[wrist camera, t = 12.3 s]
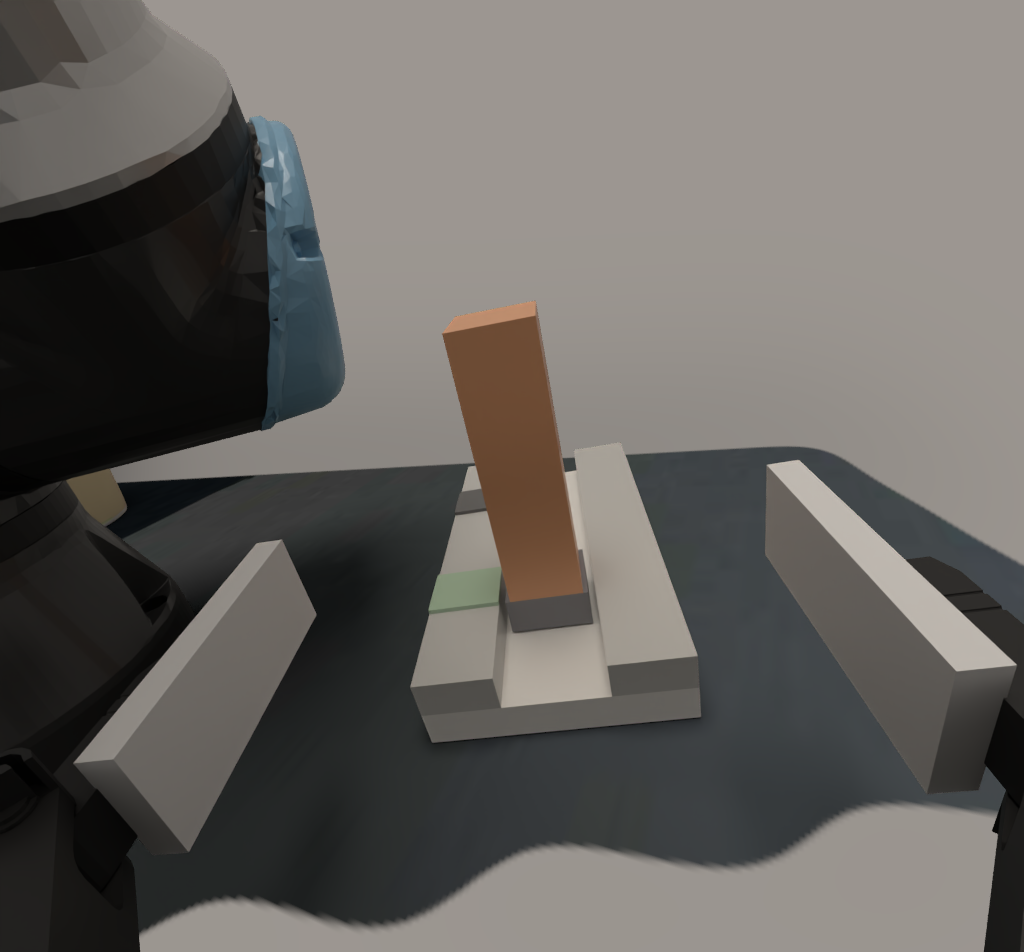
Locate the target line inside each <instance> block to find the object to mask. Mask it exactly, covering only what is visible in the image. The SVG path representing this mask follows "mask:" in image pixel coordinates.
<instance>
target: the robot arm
mask: <svg viewBox="0 0 1024 952" xmlns="http://www.w3.org/2000/svg"><path fill="white" fill-rule="evenodd" d="M319 243H320V240H319V237H318V232H317V228H316V224H315V221H314V213H313V208H312V203H311V199H310V195H309V191H308V187H307V182H306V179H305V175H304V170H303V167H302V164H301V159H300V156H299V152H298V149H297V145H296V143H295V140H294V137H293V134H292V133H291V131H290V129H289V128H288V127H287V126H286V125H284V124H283V123H281V122H279V121H267V120H266V119H265V118H263V117H261V116H258V117H252V118H250V119H249V122H248V123H246V122H245V119H244V117H243V114H242V112H241V109H240V107H239V104H238V102H237V99H236V96H235V94H234V91H233V89H232V86H231V84H230V81H229V79H228V77H227V74H226V72H225V70H224V68H223V67H222V66H221V64H220V63H219V62H218V60H217V59H216V58H215V57H213V56H212V55H211V54H209V53H208V52H207V51H205V50H204V49H202V48H201V47H199V46H198V45H196V44H195V43H193V42H192V41H190V40H189V39H187V38H186V37H185V36H183V35H181V34H180V33H179V32H177V31H176V30H174V29H173V28H171V27H170V26H168V25H167V24H165V23H164V22H162V21H161V20H159V19H158V18H156V17H155V16H153V15H152V14H151V13H150V11H149V10H148V8H147V7H146V6H145V4H144V3H143V2H142V0H0V952H140V943H139V930H138V916H137V903H136V890H135V876H134V867H133V865H132V863H131V860H130V859H129V858H128V857H127V856H126V854H127V852H128V851H129V849H130V847H131V846H132V844H133V843H134V841H135V840H136V838H138V839H139V840H140V841H141V842H142V843H143V845H144V846H145V847H146V848H147V849H148V850H149V851H150V853H151V854H152V855H162V854H174V853H187V852H189V851H190V849H191V847H192V845H193V844H194V842H195V840H196V838H197V836H198V834H199V832H200V831H201V829H202V827H203V825H204V823H205V821H206V819H207V818H208V816H209V814H210V812H211V810H212V808H213V806H214V805H215V803H216V801H217V799H218V797H219V795H220V793H221V792H222V790H223V788H224V786H225V784H226V782H227V780H228V779H229V777H230V775H231V773H232V771H233V769H234V767H235V766H236V764H237V762H238V760H239V758H240V756H241V754H242V753H243V751H244V749H245V747H246V745H247V743H248V741H249V740H250V738H251V736H252V734H253V732H254V730H255V728H256V727H257V725H258V723H259V721H260V719H261V717H262V715H263V713H264V712H265V710H266V708H267V706H268V704H269V702H270V700H271V699H272V697H273V695H274V693H275V691H276V689H277V687H278V686H279V684H280V682H281V680H282V678H283V676H284V674H285V673H286V671H287V669H288V667H289V665H290V663H291V661H292V660H293V658H294V656H295V654H296V652H297V650H298V648H299V647H300V645H301V643H302V641H303V639H304V637H305V635H306V634H307V632H308V630H309V628H310V626H311V624H312V622H313V621H314V619H315V617H316V615H317V614H316V612H315V610H314V608H313V606H312V603H311V601H310V599H309V597H308V595H307V593H306V590H305V588H304V586H303V584H302V582H301V580H300V578H299V575H298V573H297V571H296V569H295V567H294V565H293V563H292V560H291V558H290V556H289V554H288V552H287V550H286V547H285V545H284V543H283V541H282V540H276V541H269V542H263V543H257V544H256V545H255V546H254V547H253V548H252V550H251V551H250V552H249V553H248V554H247V556H246V557H245V558H244V559H243V560H242V562H241V563H240V564H239V565H238V566H237V568H236V569H235V570H234V571H233V572H232V574H231V575H230V576H229V577H228V578H227V580H226V581H225V582H224V583H223V584H222V586H221V587H220V588H219V589H218V590H217V592H216V593H215V594H214V595H213V596H212V598H211V599H210V600H209V601H208V602H207V604H206V605H205V606H204V607H203V608H202V610H201V611H200V612H199V613H198V614H197V616H196V617H195V615H194V612H193V610H192V608H191V606H190V605H189V603H188V601H187V600H186V598H185V596H184V595H183V593H182V592H181V590H180V588H179V587H178V585H177V584H176V582H175V581H174V580H173V579H172V578H171V577H170V576H169V575H168V574H167V573H165V572H164V571H163V570H161V569H160V568H159V567H157V566H156V565H155V564H153V563H152V562H151V561H150V560H148V559H147V558H146V557H144V556H143V555H142V554H140V553H139V552H138V551H136V550H135V549H134V548H132V547H131V546H130V545H129V544H127V543H126V542H125V541H123V540H122V539H121V538H119V537H118V536H117V535H115V534H114V533H113V532H111V531H110V530H109V529H107V528H106V527H105V526H104V525H102V524H101V523H100V522H98V521H97V520H96V519H94V518H93V517H92V516H91V515H90V514H89V513H88V512H87V511H86V510H85V508H84V507H83V505H82V504H81V502H80V501H79V499H78V498H77V496H76V495H75V493H74V492H73V490H72V489H71V487H70V486H69V484H68V483H67V481H66V480H69V479H71V478H75V477H79V476H83V475H87V474H90V473H94V472H98V471H102V470H106V469H110V468H114V467H118V466H121V465H125V464H129V463H133V462H137V461H141V460H145V459H148V458H153V457H156V456H160V455H164V454H168V453H172V452H176V451H180V450H184V449H187V448H191V447H195V446H199V445H203V444H207V443H211V442H214V441H219V440H222V439H226V438H230V437H234V436H238V435H242V434H246V433H250V432H253V431H257V430H261V431H262V430H266V429H271V428H272V427H273V426H274V424H275V423H277V422H280V421H283V420H286V419H289V418H292V417H295V416H298V415H301V414H304V413H307V412H310V411H313V410H316V409H319V408H322V407H324V406H325V405H327V404H328V403H330V402H331V401H332V399H334V398H335V397H336V396H337V395H338V394H339V392H340V391H341V388H342V386H343V384H344V379H345V364H344V357H343V350H342V344H341V338H340V333H339V327H338V322H337V317H336V312H335V307H334V303H333V298H332V293H331V288H330V283H329V279H328V275H327V270H326V266H325V262H324V258H323V255H322V252H321V250H320V246H319ZM765 555H766V556H767V558H768V559H769V561H770V562H771V564H772V565H773V567H774V568H775V570H776V571H777V573H778V574H779V576H780V577H781V579H782V580H783V582H784V583H785V585H786V586H787V587H788V589H789V590H790V592H791V593H792V595H793V596H794V598H795V599H796V601H797V602H798V604H799V605H800V607H801V608H802V610H803V611H804V613H805V614H806V616H807V617H808V619H809V620H810V622H811V623H812V625H813V626H814V628H815V629H816V630H817V632H818V633H819V635H820V636H821V638H822V639H823V641H824V642H825V644H826V645H827V647H828V648H829V650H830V651H831V653H832V654H833V656H834V657H835V659H836V660H837V662H838V663H839V665H840V666H841V668H842V669H843V671H844V672H845V674H846V675H847V676H848V678H849V679H850V681H851V682H852V684H853V685H854V687H855V688H856V690H857V691H858V693H859V694H860V696H861V697H862V699H863V700H864V702H865V703H866V705H867V706H868V708H869V709H870V711H871V712H872V714H873V715H874V717H875V718H876V719H877V721H878V722H879V724H880V725H881V727H882V728H883V730H884V731H885V733H886V734H887V736H888V737H889V739H890V740H891V742H892V743H893V745H894V746H895V748H896V749H897V751H898V752H899V754H900V755H901V757H902V758H903V760H904V761H905V762H906V764H907V765H908V767H909V768H910V770H911V771H912V773H913V774H914V776H915V777H916V779H917V780H918V782H919V783H920V785H921V786H922V788H923V789H924V791H925V792H926V794H935V793H948V792H961V791H973V790H979V787H980V783H981V780H982V777H983V774H984V771H985V767H986V766H987V767H988V768H989V770H990V771H991V772H992V773H993V775H994V776H995V777H996V778H997V780H998V781H999V782H1000V783H1001V784H1002V786H1003V787H1004V788H1005V789H1006V792H1005V795H1004V798H1003V801H1002V803H1001V806H1000V809H999V812H998V815H997V818H996V821H995V824H994V827H993V829H992V831H993V832H995V833H997V834H998V840H997V848H996V856H995V865H994V872H993V881H992V889H991V898H990V906H989V914H988V922H987V930H986V938H985V947H984V952H1024V625H1023V624H1022V623H1021V622H1020V621H1019V620H1018V619H1016V618H1015V617H1014V616H1013V615H1012V614H1010V613H1009V612H1008V611H1007V610H1003V609H1002V607H1001V605H1000V604H999V603H997V602H996V601H995V600H994V599H993V598H991V597H990V596H989V595H988V594H984V593H983V590H982V589H981V588H980V587H978V586H977V585H976V584H975V583H974V582H973V581H971V580H970V579H969V578H968V577H967V576H965V575H964V574H963V573H962V572H961V571H959V570H957V569H955V568H953V567H951V566H948V565H946V564H944V563H942V562H940V561H938V560H936V559H934V558H932V557H923V558H915V559H907V560H905V559H904V558H903V557H901V556H900V555H899V554H898V553H897V552H896V551H895V550H894V549H893V548H892V547H891V546H890V545H889V544H888V543H887V542H885V541H884V540H883V539H882V538H881V537H880V536H879V535H878V534H877V533H876V532H875V531H874V530H873V529H872V528H871V527H870V526H868V525H867V524H866V523H865V522H864V521H863V520H862V519H861V518H860V517H859V516H858V515H857V514H856V513H855V512H854V511H852V510H851V509H850V508H849V507H848V506H847V505H846V504H845V503H844V502H843V501H842V500H841V499H840V498H839V497H838V496H837V495H835V494H834V493H833V492H832V491H831V490H830V489H829V488H828V487H827V486H826V485H825V484H824V483H823V482H822V481H821V480H819V479H818V478H817V477H816V476H815V475H814V474H813V473H812V472H811V471H810V470H809V469H808V468H807V467H806V466H805V465H804V464H802V463H801V462H800V461H799V460H796V461H789V462H783V463H776V464H770V465H767V484H766V538H765Z"/></svg>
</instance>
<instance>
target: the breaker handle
mask: <svg viewBox="0 0 1024 952" xmlns="http://www.w3.org/2000/svg"><path fill="white" fill-rule="evenodd" d="M442 335H443V338H444V343H445V346H446V350H447V354H448V358H449V362H450V366H451V370H452V374H453V378H454V382H455V386H456V390H457V394H458V398H459V402H460V406H461V410H462V414H463V418H464V422H465V426H466V429H467V434H468V438H469V442H470V446H471V450H472V453H473V457H474V461H475V465H476V469H477V473H478V477H479V481H480V485H481V489H482V493H483V497H484V501H485V505H486V509H487V513H488V517H489V521H490V525H491V529H492V533H493V537H494V541H495V545H496V549H497V553H498V557H499V560H500V564H501V568H502V572H503V576H504V580H505V584H506V600H505V604H506V608H507V612H508V615H509V619H510V623H511V627H512V631H513V632H518V631H527V630H535V629H543V628H551V627H560V626H568V625H576V624H585V623H593V617H592V609H591V602H590V595H589V588H588V580H587V574H586V568H585V562H584V556H583V550H582V549H580V550H578V547H577V541H576V535H575V529H574V523H573V517H572V512H571V506H570V500H569V494H568V488H567V482H566V476H565V470H564V465H563V459H562V453H561V447H560V441H559V435H558V430H557V423H556V418H555V412H554V406H553V400H552V394H551V388H550V382H549V377H548V370H547V365H546V359H545V353H544V347H543V341H542V335H541V329H540V324H539V318H538V312H537V306H536V301H531V302H526V303H522V304H516V305H511V306H506V307H501V308H496V309H491V310H486V311H481V312H476V313H471V314H466V315H461V316H456V317H455V318H454V319H453V320H452V322H451V323H450V324H449V326H448V327H447V328H446V329H445V331H444V332H443V333H442Z"/></svg>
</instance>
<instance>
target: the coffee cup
mask: <svg viewBox="0 0 1024 952" xmlns="http://www.w3.org/2000/svg"><path fill="white" fill-rule="evenodd" d="M66 481H67V483H68V484H69V486H70V487H71V489H72V490H73V492H74V493H75V495H76V496H77V498H78V499H79V501H80V502H81V504H82V505H83V507H84V508H85V510H86V511H87V512H88V513H89V514H90V515H91V516H92V517H93V518H94V519H96V520H97V521H98V522H100V523H101V524H102V525H104V526H105V527H106V526H107V525H109V524H111V523H112V522H114V521H115V520H117V519H118V518H119V517H120V516H122V515H123V514H124V513H125V511H126V510H127V505H126V502H125V500H124V498H123V495H122V493H121V491H120V489H119V487H118V485H117V483H116V481H115V479H114V477H113V475H112V473H111V471H110V469H106V470H102V471H98V472H94V473H90V474H87V475H83V476H79V477H75V478H71V479H69V480H66Z"/></svg>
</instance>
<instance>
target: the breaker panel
mask: <svg viewBox="0 0 1024 952" xmlns="http://www.w3.org/2000/svg"><path fill="white" fill-rule="evenodd" d="M574 455H575V461H576V468H577V471H571V472H565V476H566V482H567V488H568V494H569V500H570V506H571V512H572V517H573V523H574V529H575V535H576V541H577V547H578V550H580V549H582V550H583V556H584V562H585V568H586V574H587V580H588V588H589V595H590V602H591V609H592V617H593V623H585V624H576V625H568V626H560V627H551V628H543V629H535V630H527V631H518V632H513V631H512V627H511V623H510V619H509V615H508V612H507V608H506V604H505V600H506V584H505V580H504V576H503V572H502V568H501V564H500V560H499V557H498V553H497V549H496V545H495V541H494V537H493V533H492V529H491V525H490V521H489V517H488V513H487V509H486V505H485V501H484V497H483V493H482V489H481V485H480V481H479V477H478V473H477V469H476V466H472V467H468V471H467V474H466V478H465V482H464V486H463V489H462V492H460V495H459V499H458V502H457V506H456V510H455V515H456V516H455V520H454V524H453V527H452V531H451V535H450V539H449V542H448V546H447V550H446V554H445V558H444V561H443V565H442V569H441V573H440V575H438V576H437V580H436V584H435V587H434V591H433V595H432V599H431V602H430V606H429V610H428V611H429V618H428V622H427V626H426V629H425V633H424V637H423V641H422V645H421V648H420V652H419V656H418V660H417V664H416V667H415V671H414V675H413V679H412V682H411V686H410V688H411V691H412V693H413V696H414V698H415V701H416V703H417V706H418V709H419V711H420V714H421V716H422V719H423V721H424V724H425V726H426V729H427V731H428V734H429V736H430V739H431V741H432V743H436V742H447V741H457V740H467V739H478V738H488V737H499V736H509V735H520V734H530V733H541V732H551V731H562V730H572V729H583V728H593V727H603V726H614V725H624V724H635V723H645V722H656V721H666V720H677V719H687V718H698V717H701V706H700V688H699V670H698V655H697V652H696V650H695V647H694V644H693V641H692V639H691V636H690V633H689V630H688V628H687V625H686V622H685V619H684V616H683V614H682V611H681V608H680V605H679V603H678V600H677V597H676V594H675V592H674V589H673V586H672V583H671V581H670V578H669V575H668V572H667V569H666V567H665V564H664V561H663V558H662V556H661V553H660V550H659V547H658V545H657V542H656V539H655V536H654V534H653V531H652V528H651V525H650V522H649V520H648V517H647V514H646V511H645V509H644V506H643V503H642V500H641V498H640V495H639V492H638V489H637V487H636V484H635V481H634V478H633V475H632V473H631V470H630V467H629V464H628V462H627V459H626V456H625V453H624V451H623V448H622V445H621V443H614V444H608V445H602V446H595V447H589V448H583V449H577V450H574Z"/></svg>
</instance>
